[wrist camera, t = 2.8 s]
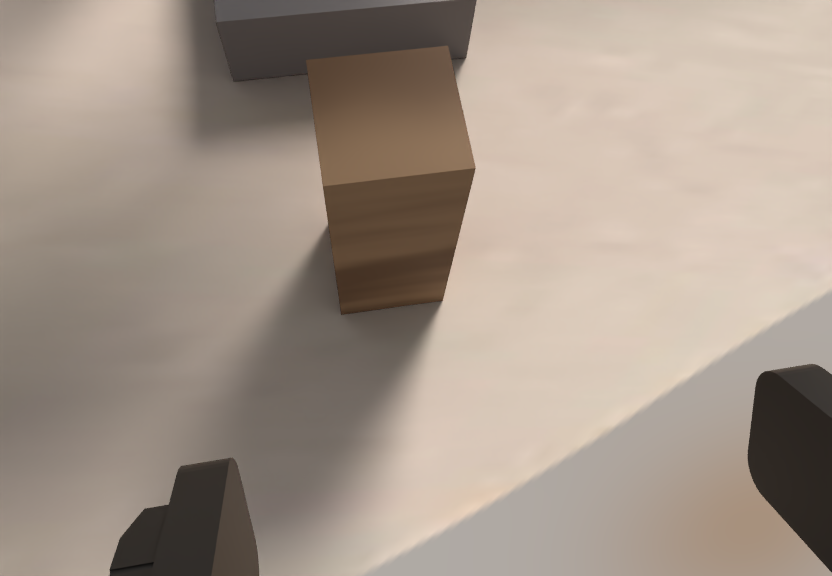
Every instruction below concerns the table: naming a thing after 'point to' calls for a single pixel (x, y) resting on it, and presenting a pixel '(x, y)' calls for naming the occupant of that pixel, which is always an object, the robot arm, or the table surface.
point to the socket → (334, 31)
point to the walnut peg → (391, 172)
